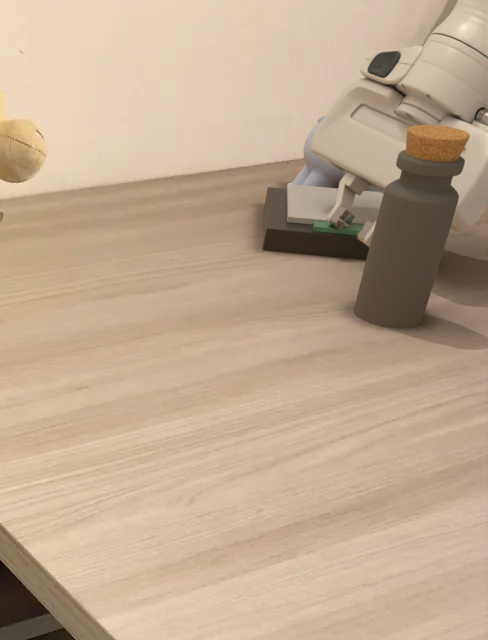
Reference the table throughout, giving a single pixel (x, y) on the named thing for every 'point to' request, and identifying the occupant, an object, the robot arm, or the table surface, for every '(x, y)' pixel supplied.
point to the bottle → (412, 228)
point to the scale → (315, 222)
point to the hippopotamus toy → (318, 168)
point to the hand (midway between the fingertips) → (349, 235)
